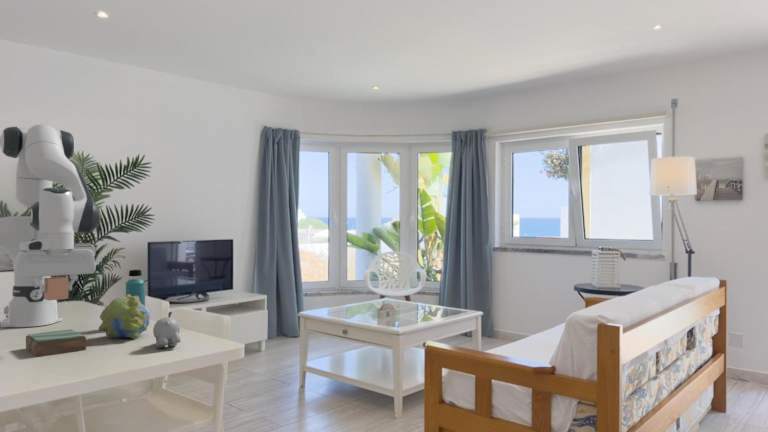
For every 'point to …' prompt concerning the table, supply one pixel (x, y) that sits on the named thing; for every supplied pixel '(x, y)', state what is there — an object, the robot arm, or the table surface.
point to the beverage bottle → (136, 286)
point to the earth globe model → (124, 318)
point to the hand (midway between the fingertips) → (56, 291)
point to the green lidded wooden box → (55, 342)
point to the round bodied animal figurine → (166, 332)
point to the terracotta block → (56, 288)
